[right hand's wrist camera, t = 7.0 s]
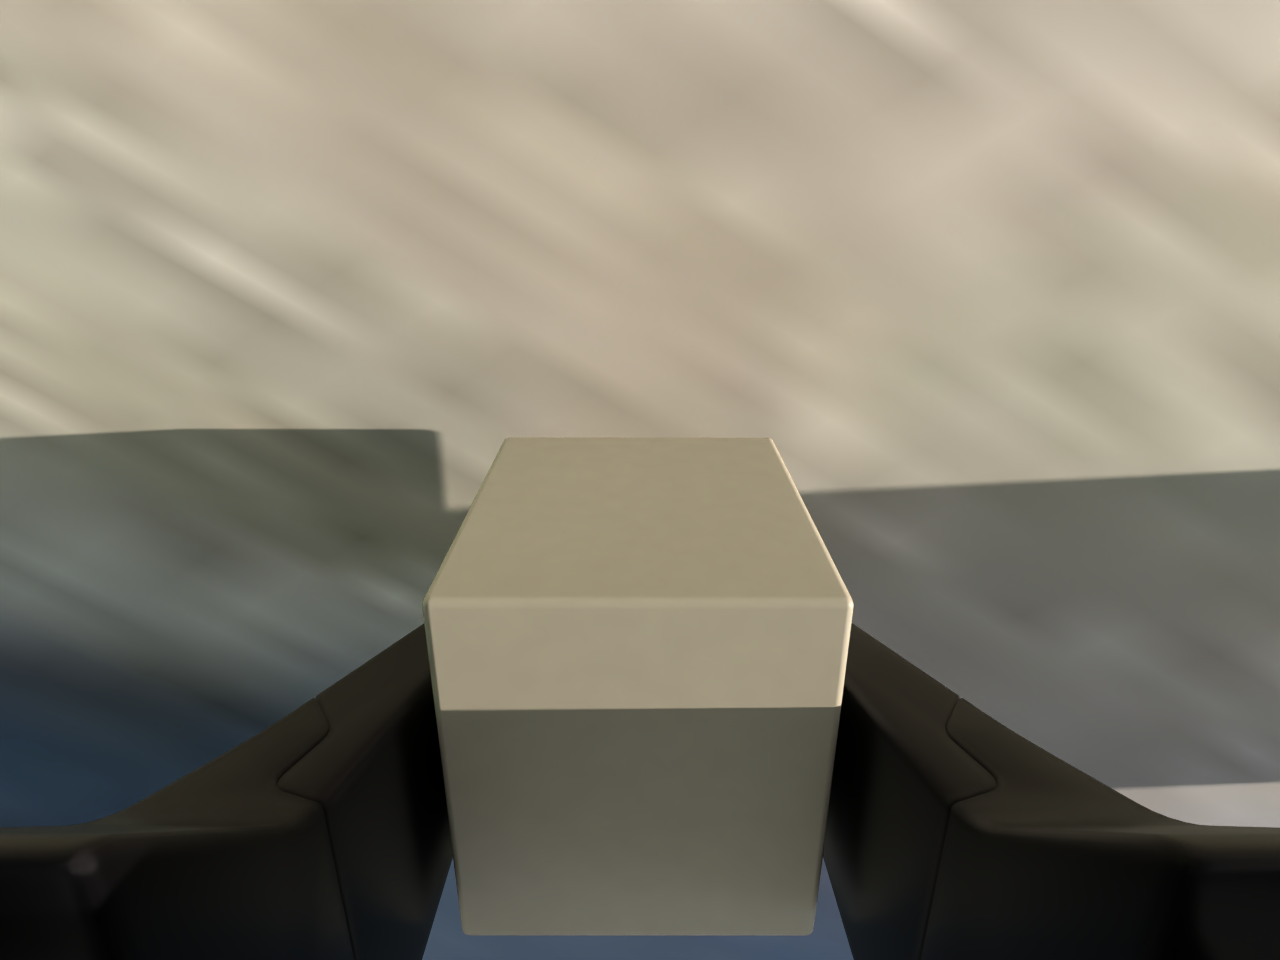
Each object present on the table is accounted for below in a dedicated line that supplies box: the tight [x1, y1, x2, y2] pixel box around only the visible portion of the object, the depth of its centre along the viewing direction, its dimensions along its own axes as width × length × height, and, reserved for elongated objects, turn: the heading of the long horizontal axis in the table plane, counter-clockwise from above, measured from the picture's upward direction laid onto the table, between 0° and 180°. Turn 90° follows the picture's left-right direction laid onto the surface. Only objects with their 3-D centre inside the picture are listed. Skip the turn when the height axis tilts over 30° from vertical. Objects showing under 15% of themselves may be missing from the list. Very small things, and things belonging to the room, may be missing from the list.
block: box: [422, 438, 854, 935], centre depth 10 cm, size 4×5×5 cm
